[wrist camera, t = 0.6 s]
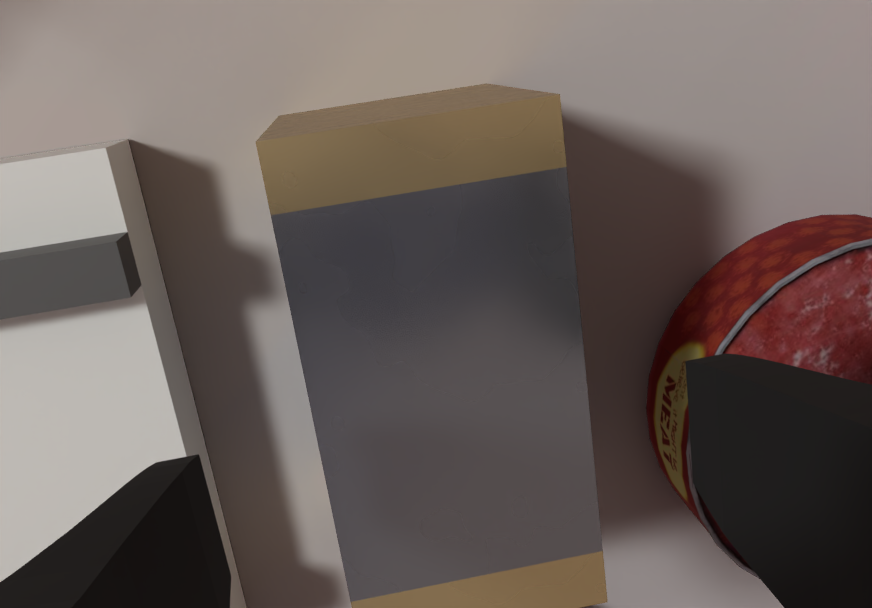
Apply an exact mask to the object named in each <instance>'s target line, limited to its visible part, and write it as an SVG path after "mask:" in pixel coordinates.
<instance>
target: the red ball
mask: <svg viewBox="0 0 872 608" xmlns="http://www.w3.org/2000/svg"><path fill="white" fill-rule="evenodd" d="M719 354H738V355H745V356H751V357H756V358H760V359H765V360H770V361H774V362H779V363H783V364H787V365H791V366H795V367H799V368H803V369H807V370H812V371H816V372H820V373H824V374H828V375H832V376H836V377H841V378H845V379H849V380H853V381H858V382H862V383H867V384H871V385H872V218H871V217H866V216H861V215H856V214H853V215H819V216H815V217H810V218H806V219H801V220H797V221H792V222H788V223H785V224H783V225H781V226H778V227H776V228H773V229H771V230H769V231H766V232H764V233H762V234H759V235H757V236H755V237H753V238H752V239H750V240H748V241H747V242H745V243H744V244H742V245H741V246H739V247H738V248H736V249H735V250H733V251H732V252H730V253H729V254H727V255H726V256H724V257H723V258H722V259H721V260H720V261H719V262H718V263H716V264H715V265H714V266H713V267H712V268H711V269H710V270H709V271H708V272H707V273H706V274H705V275H704V276H703V277H702V278H700V279H699V280H698V281H697V282H696V284H695V285H694V286H693V288H692V289H691V290H690V292H689V293H688V294H687V296H686V297H685V298H684V300H683V301H682V302H681V304H680V305H679V306H678V308H677V309H676V310H675V312H674V314H673V316H672V318H671V319H670V321H669V323H668V325H667V327H666V329H665V331H664V333H663V335H662V337H661V339H660V341H659V343H658V347H657V350H656V354H655V357H654V360H653V364H652V367H651V371H650V374H649V381H648V393H647V404H646V412H647V420H648V428H649V437H650V441H651V444H652V447H653V450H654V452H655V455H656V458H657V461H658V464H659V467H660V468H661V470H662V471H663V473H664V475H665V476H666V478H667V479H668V481H669V482H670V484H671V486H672V487H673V489H674V490H675V491H676V492H677V494H678V495H679V496H680V497H681V499H682V500H683V501H684V502H685V504H686V505H687V506H688V507H689V509H690V510H691V511H692V512H693V514H694V515H695V516H696V517H697V518H698V520H699V521H700V522H701V523H702V525H703V526H704V527H705V528H706V530H707V531H708V532H709V533H710V535H711V536H712V538H713V540H714V541H715V543H716V544H717V546H718V547H719V548H720V549H722V550H723V551H724V552H725V553H726V554H727V555H728V556H729V557H730V558H731V559H732V560H733V561H734V562H735V563H736V564H737V565H738V566H739V567H741V568H742V569H744V570H746V571H747V572H749V573H751V574H752V575H754V576H756V577H758V575H757V574H756V573H755V572H754V571H753V569H752V568H751V567H750V566H749V564H748V563H747V562H746V561H745V560H744V558H743V557H742V556H741V555H740V554H739V552H738V551H737V550H736V549H735V547H734V546H733V545H732V544H731V542H730V541H729V540H728V539H727V537H726V536H725V535H724V533H723V532H722V530H721V529H720V527H719V526H718V524H717V522H716V521H715V519H714V518H713V516H712V514H711V513H710V511H709V509H708V508H707V506H706V504H705V503H704V501H703V499H702V497H701V496H700V494H699V492H698V491H697V489H696V487H695V485H694V484H693V477H692V460H691V444H690V428H689V412H688V396H687V379H686V363H685V361H688V360H693V359H698V358H704V357H709V356H714V355H719ZM758 578H759V577H758ZM759 579H760V578H759Z"/></svg>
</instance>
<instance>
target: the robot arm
mask: <svg viewBox="0 0 872 608" xmlns="http://www.w3.org/2000/svg"><path fill="white" fill-rule="evenodd" d="M685 363H686V379H687V396H688V412H689V428H690V444H691V460H692V477H693V484H694V485H695V487H696V489H697V491H698V492H699V494H700V496H701V497H702V499H703V501H704V503H705V504H706V506H707V508H708V509H709V511H710V513H711V514H712V516H713V518H714V519H715V521H716V522H717V524H718V526H719V527H720V529H721V530H722V532H723V533H724V535H725V536H726V537H727V539H728V540H729V541H730V542H731V544H732V545H733V546H734V547H735V549H736V550H737V551H738V552H739V554H740V555H741V556H742V557H743V558H744V560H745V561H746V562H747V563H748V564H749V566H750V567H751V568H752V569H753V571H754V572H755V573H756V574H757V575H758V577H759V578H760V579H761V580H762V581H763V583H764V584H765V585H766V586H767V587H768V588H769V590H770V591H771V592H772V593H773V594H774V596H775V597H776V598H777V599H778V600H779V602H780V603H781V604H782V605H783V606H784V608H872V385H871V384H867V383H862V382H858V381H853V380H849V379H845V378H841V377H836V376H832V375H828V374H824V373H820V372H816V371H812V370H807V369H803V368H799V367H795V366H791V365H787V364H783V363H779V362H774V361H770V360H765V359H760V358H756V357H751V356H745V355H738V354H719V355H714V356H709V357H704V358H698V359H693V360H688V361H685ZM230 594H231V573H230V569H229V565H228V562H227V558H226V554H225V550H224V547H223V543H222V539H221V535H220V531H219V528H218V524H217V520H216V516H215V513H214V509H213V505H212V501H211V497H210V494H209V490H208V486H207V482H206V479H205V475H204V471H203V467H202V463H201V460H200V456H199V454H197V455H192V456H187V457H182V458H177V459H171V460H166V461H161V462H156V463H154V464H153V465H151V466H149V467H147V468H146V469H145V470H143V471H142V472H140V473H139V474H138V475H136V476H135V477H134V478H133V479H131V480H130V481H129V482H128V483H126V484H125V485H124V486H123V487H121V488H120V489H119V490H118V491H117V492H115V493H114V494H113V495H112V496H111V497H109V498H108V499H107V500H106V501H105V502H103V503H102V504H101V505H100V506H98V507H97V508H96V509H95V510H94V511H92V512H91V513H90V514H89V515H88V516H86V517H85V518H84V519H83V520H81V521H80V522H79V523H78V524H77V525H75V526H74V527H73V528H72V529H70V530H69V531H68V532H67V533H65V534H64V535H63V536H61V537H60V538H59V539H57V540H56V541H55V542H54V543H52V544H51V545H50V546H48V547H47V548H46V549H44V550H43V551H42V552H40V553H39V554H38V555H36V556H35V557H34V558H32V559H31V560H30V561H29V562H27V563H26V564H25V565H23V566H22V567H21V568H19V569H18V570H17V571H15V572H14V573H13V574H11V575H10V576H8V577H7V578H5V579H4V580H3V581H1V582H0V608H230Z"/></svg>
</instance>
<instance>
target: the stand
mask: <svg viewBox="0 0 872 608" xmlns="http://www.w3.org/2000/svg"><path fill="white" fill-rule="evenodd" d="M197 454H199V456H200V460H201V463H202V467H203V471H204V475H205V479H206V482H207V486H208V490H209V494H210V497H211V501H212V505H213V509H214V513H215V516H216V520H217V524H218V528H219V531H220V535H221V539H222V543H223V547H224V550H225V554H226V558H227V562H228V565H229V569H230V573H231V594H230V608H247V607H246V603H245V599H244V595H243V591H242V587H241V583H240V579H239V575H238V571H237V567H236V563H235V560H234V556H233V552H232V548H231V544H230V540H229V536H228V532H227V528H226V524H225V520H224V516H223V512H222V508H221V504H220V500H219V496H218V492H217V488H216V484H215V481H214V477H213V473H212V469H211V465H210V461H209V457H208V453H207V449H206V445H205V441H204V437H203V433H202V429H201V425H200V421H199V417H198V413H197V409H196V405H195V401H194V398H193V394H192V390H191V386H190V382H189V378H188V374H187V370H186V366H185V362H184V358H183V354H182V350H181V346H180V342H179V338H178V334H177V330H176V326H175V322H174V319H173V315H172V311H171V307H170V303H169V299H168V295H167V291H166V287H165V283H164V279H163V275H162V271H161V267H160V263H159V259H158V255H157V251H156V247H155V243H154V239H153V236H152V232H151V228H150V224H149V220H148V216H147V212H146V208H145V204H144V200H143V196H142V192H141V188H140V184H139V180H138V176H137V172H136V168H135V164H134V160H133V157H132V153H131V149H130V145H129V141H128V139H125V140H119V141H112V142H106V143H100V144H93V145H87V146H80V147H74V148H67V149H61V150H54V151H48V152H41V153H35V154H28V155H22V156H15V157H9V158H2V159H0V582H1V581H3V580H4V579H5V578H7V577H8V576H10V575H11V574H13V573H14V572H15V571H17V570H18V569H19V568H21V567H22V566H23V565H25V564H26V563H27V562H29V561H30V560H31V559H32V558H34V557H35V556H36V555H38V554H39V553H40V552H42V551H43V550H44V549H46V548H47V547H48V546H50V545H51V544H52V543H54V542H55V541H56V540H57V539H59V538H60V537H61V536H63V535H64V534H65V533H67V532H68V531H69V530H70V529H72V528H73V527H74V526H75V525H77V524H78V523H79V522H80V521H81V520H83V519H84V518H85V517H86V516H88V515H89V514H90V513H91V512H92V511H94V510H95V509H96V508H97V507H98V506H100V505H101V504H102V503H103V502H105V501H106V500H107V499H108V498H109V497H111V496H112V495H113V494H114V493H115V492H117V491H118V490H119V489H120V488H121V487H123V486H124V485H125V484H126V483H128V482H129V481H130V480H131V479H133V478H134V477H135V476H136V475H138V474H139V473H140V472H142V471H143V470H145V469H146V468H147V467H149V466H151V465H153V464H154V463H156V462H161V461H166V460H171V459H177V458H182V457H187V456H192V455H197Z"/></svg>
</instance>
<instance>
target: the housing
mask: <svg viewBox="0 0 872 608" xmlns="http://www.w3.org/2000/svg"><path fill="white" fill-rule="evenodd" d="M256 146H257V151H258V155H259V160H260V165H261V170H262V175H263V180H264V184H265V189H266V194H267V199H268V204H269V209H270V213H271V218H272V223H273V228H274V233H275V238H276V243H277V247H278V252H279V257H280V262H281V267H282V272H283V276H284V281H285V286H286V291H287V296H288V301H289V305H290V310H291V315H292V320H293V325H294V330H295V334H296V339H297V344H298V349H299V354H300V359H301V363H302V368H303V373H304V378H305V383H306V388H307V392H308V397H309V402H310V407H311V412H312V417H313V422H314V426H315V431H316V436H317V441H318V446H319V451H320V455H321V460H322V465H323V470H324V475H325V480H326V484H327V489H328V494H329V499H330V504H331V509H332V513H333V518H334V523H335V528H336V533H337V538H338V542H339V547H340V552H341V557H342V562H343V567H344V571H345V576H346V581H347V586H348V591H349V596H350V601H351V605H352V608H581V607H586V606H590V605H595V604H600V603H605V602H607V592H606V581H605V571H604V560H603V549H602V539H601V528H600V517H599V507H598V496H597V486H596V475H595V464H594V454H593V443H592V432H591V422H590V411H589V400H588V390H587V379H586V368H585V358H584V347H583V337H582V326H581V315H580V305H579V294H578V283H577V273H576V262H575V251H574V241H573V230H572V219H571V209H570V198H569V188H568V177H567V166H566V156H565V145H564V134H563V124H562V113H561V102H560V94H555V93H548V92H541V91H534V90H527V89H520V88H513V87H506V86H499V85H493V84H481V85H475V86H468V87H462V88H455V89H449V90H442V91H436V92H430V93H423V94H417V95H410V96H404V97H397V98H391V99H384V100H378V101H371V102H365V103H358V104H352V105H345V106H339V107H332V108H326V109H319V110H313V111H306V112H300V113H293V114H287V115H280V116H278V117H277V119H276V120H275V121H274V122H273V123H272V124H271V125H270V126H269V127H268V129H267V130H266V131H265V132H264V133H263V134H262V135H261V136H260V138H259V139H258V140H257V141H256Z"/></svg>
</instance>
